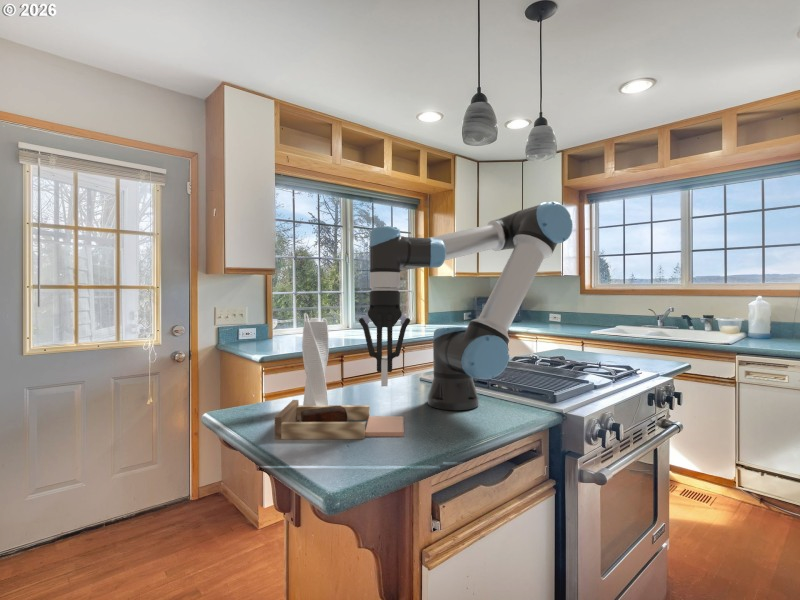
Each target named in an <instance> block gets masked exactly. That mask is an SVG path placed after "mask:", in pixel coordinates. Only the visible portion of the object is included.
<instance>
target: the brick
mask: <svg viewBox="0 0 800 600" xmlns="http://www.w3.org/2000/svg"><path fill="white" fill-rule="evenodd" d="M339 405H340V404H339ZM339 405H338V406H331V407H323V408H317V409H308V410H303V411H301V420H300V422H348V420H347V412H346V409H345V408H344V407H342V406H339Z"/></svg>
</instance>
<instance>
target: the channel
mask: <svg viewBox="0 0 800 600" xmlns="http://www.w3.org/2000/svg"><path fill="white" fill-rule="evenodd" d="M299 403H300V402H299V399H292V401H290V402H289V403H288V404H287V405H285V407H284V408H283V409H281V410H280V412H279V413H277V415H275V416H274V440H365V437H366V436H365V430H366V422H365V421H368V419H369V417H371V416H370V413H371V412H370V411H371V410H370V404H369V405H366V404H365V405H363V404H361V405H359V404H358V405H352V404H351V405H350V404H347V405H343V404H342V405H340V404H339V406H342V407H344V408H345V409H346V412H347V422H301V411H303V410H308V409H317V408H323V407H331V406H338V405H337V404H336V405H333V404H332V405H329V404H328V405H303V404H302V405H299Z"/></svg>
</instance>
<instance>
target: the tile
mask: <svg viewBox="0 0 800 600" xmlns="http://www.w3.org/2000/svg"><path fill="white" fill-rule="evenodd" d="M404 431H405V430H404V416H402V415H401V416H395V415H393V416H386V415H385V416H370V417H369V419H368V420H367V423H366V425H365V437H404V436H405V434H404Z"/></svg>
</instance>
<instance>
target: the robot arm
mask: <svg viewBox="0 0 800 600" xmlns="http://www.w3.org/2000/svg"><path fill="white" fill-rule="evenodd" d="M572 232H573V220H572V218H571V214H570V212H569V210H568V209H567V208H566V207H565V206H564V205H563V204H561V203H559V202H556V201H548V202H542V203H540V204H538V205H534V206H531V207H528V208H524V209H521V210H517V211H515V212H513V213H510V214H508V215H506V216H503V217H501V218H497V219H494V220H490V221H489V222H488V223H487V224H486V225H485V224H484V225H481V226H477V227H472V228H467V229H463V230H458V231H453V232H450V233H444V234H441V235H436V236H431V237H430V236H429V237H411V236H409V237H408V236H402V233H401V229H400V228H399V227H396V226H392V225H391V226H390V225H388V226H387V225H382V226H376V227H373V228H372V229H371V231H370V233H369V236H370V237H369V289H371V290H370V291H369V308H368V310H367V314H366V315H364V316H363V317H360V318H359V319H358V322H359V324H360V325H361V327H362V329H363V330H362V331H363V334H364V337H365V342H366V347H367V351H368V353H369V356H370V357H372V358H374V359H376V371H377V373H381V375H380V377H381V379H380V380H381V384H380V386H381V387H388V383H389V381H388V379H389V378H388V374H389V373H392V371H393V360H394V359H395V358H397V357H399V356H400V355H401V354H400V353H401V350H402V346H403V342H404V338H405V333H406V330H407V327H408V325H410V323H411V319H410V318H409V317H406V316H405V315H404V314H403V311H402V310H401V292H400V291H399V289H400V288H401V272H403V271H408V270H414V269H415V270H416V269H421V268H429V269H432V268H441V267H442V266H443V265H444V263H445V261H447V260H452V259H456V258H462V257H465V256H469V255H473V254H478V253H481V252H486V251H491V250H492V251H495V252H500V251H504V250H512V251H511V254H510V256H509V258H508V259H507V262H506V263H505V266H504V267H503V269H502V272H501V274H500V276H499V277H498V279H497V281H496V283H495V285H494V287H493V289H492V291H491V293H490V295H489V297H488V299H487V301H486V303H485V304H484V307H483V309H482V310H481V312H480V313H479V314H480V315H479V316H478V318H474V319H471V320H470V322H469V323H468V325H467V326H450V327H440V328H439V327H438V328H436V329H435V330H434V331H433V339H432V343H433V344H432V346H433V347H432V349H433V350H432V352H433V355H432V356H433V360H432V361H433V378H432V382H431V385H430V388H429V391H428V394H427V405H428V406H429V407H432V408H434V409H437V410H438V409H439V410H445V411H468V410H473V409H476V408H477V407H478V406H479V395H478V394H479V393H478V391H477V388H476V386H475V385H476V384H475V381H474V379H478V380H491V379H495V378H496V377H498V376H500V375H501V374H502V373H503V372H504V371H505V370H506V368H507V366H508V364H509V360H510V354H509V351H510V350H509V346H508V344H510V340H511V339H510V337H509V334H508V333H509V330H510V328H511V325H512V323H513V321H514V319H515V317H516V316H517V313H518V312H519V309H520V308H521V305H522V303H523V301H524V299H525V298H526V295H527V293H528V291H529V289H530V287H531V285H532V283H533V281H534V279H535V278H536V275H537V273H538V271H539V269H540V267H541V265H542V263H543V261H544V260H546V259H549V258H551V257H552V255H553V254H554V251H555V249H556V247H557V245H558V244H562V243H564V242H566V241H567V240H568V239H570V236H571V235H572ZM369 319H370V320H371V322H372V323H373V325H374V326H375V327H376V351H375V347H374V344H373V343H374V342H373V339H372V336H371V335H372V334H371V331H370V327H369V324H370V320H369ZM399 320H400V325H401V327H400V330H399V334H398V337H397V338H398V339H397V342H396V347H395V350H394V351H393V328H394V326H395V325H396V324H397V323H398V321H399ZM383 328H386V329H387V330H386V332H387V333H386V334H387V336H386V337H387V342H386V344H387V345H386V347H387V348H386V350H387V351H386V353H387V354H386V357H384V358H383Z"/></svg>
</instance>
